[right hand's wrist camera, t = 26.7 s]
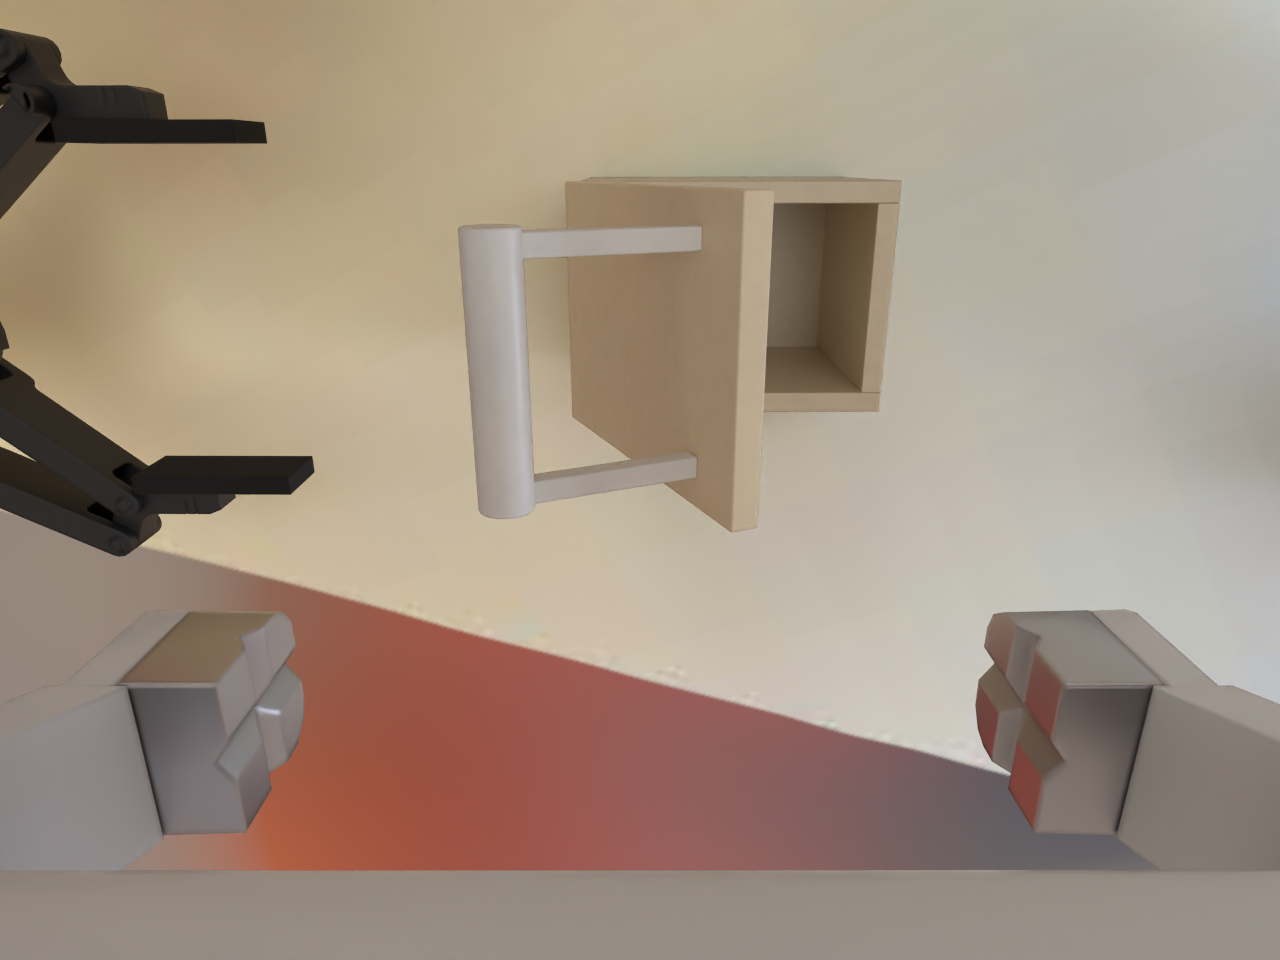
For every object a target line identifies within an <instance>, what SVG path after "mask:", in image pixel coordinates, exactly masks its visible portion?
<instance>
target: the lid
mask: <svg viewBox="0 0 1280 960" xmlns="http://www.w3.org/2000/svg"><path fill="white" fill-rule="evenodd" d="M565 189H566V221H567V229H545V230H522V227H521V226H518V225H508V224H482V225H466V226H461V227H459V228H458V236H459V250H460V263H461V277H462V291H463V304H464V318H465V332H466V345H467V359H468V373H469V386H470V400H471V414H472V427H473V441H474V454H475V468H476V482H477V495H478V509H479V511H480V513H481V514H482V515H484V516H486V517H489V518H495V519H512V518H518V517H522V516H525V515H527V514H529V513H531V512H532V511H533V510H534V508H535V504H536V503H542V502H548V501H555V500H561V499H567V498H573V497H579V496H585V495H592V494H598V493H604V492H610V491H616V490H622V489H629V488H635V487H641V486H647V485H653V484H660V483H664V484H666V485H667V486H668V487H670V488H671V489H672V490H674V491H675V492H677V493H678V494H679V495H681V496H682V497H683V498H685V499H686V500H688V501H689V502H690V503H692V504H693V505H694V506H696V507H697V508H699V509H700V510H701V511H703V512H704V513H705V514H707V515H708V516H709V517H711V518H712V519H714V520H715V521H716V522H718V523H719V524H720V525H722V526H723V527H725V528H726V529H727V530H729V531H730V532H737V531H742V530H747V529H753V528H757V527H758V510H759V489H760V469H761V449H762V429H763V409H764V388H765V368H766V348H767V328H768V308H769V287H770V267H771V247H772V227H773V207H774V190H772V189H751V188H727V187H704V186H680V185H656V184H633V183H609V182H566V183H565ZM561 257H568V286H569V319H570V351H571V384H572V416H573V417H574V418H575V419H576V420H578V421H579V422H581V423H582V424H583V425H585V426H586V427H587V428H589V429H590V430H592V431H593V432H594V433H596V434H597V435H598V436H600V437H601V438H603V439H604V440H605V441H607V442H608V443H609V444H611V445H612V446H614V447H615V448H616V449H618V450H619V451H620V452H622V453H623V454H624V455H626V456H627V457H629V458H630V459H631V460H627V461H620V462H614V463H607V464H600V465H593V466H587V467H580V468H573V469H566V470H559V471H553V472H546V473H539V474H534V464H533V443H532V422H531V402H530V381H529V360H528V339H527V318H526V298H525V277H524V259H539V258H561Z"/></svg>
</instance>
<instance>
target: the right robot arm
mask: <svg viewBox="0 0 1280 960" xmlns="http://www.w3.org/2000/svg"><path fill="white" fill-rule="evenodd" d="M295 647H296V645H295V639H294V634H293V629H292V624H291V621H290V620H289V619H288V617H287V616H286V615H285V614H284V613H283V612H249V611H195V610H161V611H148V612H144V613H143V614H142V615H141V616H140V617H138V618H137V619H136V620H135V621H134V622H133V623H132V624H131V625H129V626H128V627H127V628H126V629H125V630H124V631H123V632H122V633H120V634H119V635H118V636H117V637H116V638H115V639H114V640H113V641H111V642H110V643H109V644H108V645H107V646H106V647H105V648H104V649H102V650H101V651H100V652H99V653H98V654H97V655H96V656H95V657H93V658H92V659H91V660H90V661H89V662H88V663H87V664H86V665H84V666H83V667H82V668H81V669H80V670H79V671H78V672H77V673H75V674H74V675H73V676H72V677H71V678H70V679H69V680H68V681H66V682H65V683H64V684H63V685H62V686H45V687H43V688H40V689H38V690H35V691H33V692H30V693H28V694H25V695H23V696H20V697H18V698H15V699H13V700H10V701H8V702H5V703H3V704H0V960H1280V704H1277V703H1275V702H1272V701H1270V700H1267V699H1265V698H1262V697H1260V696H1257V695H1255V694H1252V693H1250V692H1247V691H1245V690H1242V689H1240V688H1237V687H1235V686H1218V685H1217V684H1216V683H1215V682H1214V681H1213V680H1211V679H1210V678H1209V677H1208V676H1207V675H1206V674H1205V673H1204V672H1202V671H1201V670H1200V669H1199V668H1198V667H1197V666H1196V665H1195V664H1193V663H1192V662H1191V661H1190V660H1189V659H1188V658H1187V657H1186V656H1185V655H1183V654H1182V653H1181V652H1180V651H1179V650H1178V649H1177V648H1176V647H1174V646H1173V645H1172V644H1171V643H1170V642H1169V641H1168V640H1167V639H1165V638H1164V637H1163V636H1162V635H1161V634H1160V633H1159V632H1158V631H1156V630H1155V629H1154V628H1153V627H1152V626H1151V625H1150V624H1149V623H1148V622H1146V621H1145V620H1144V619H1143V618H1142V617H1141V616H1140V615H1139V614H1137V613H1135V612H1132V611H1129V610H1125V609H1122V610H1100V611H1089V610H1083V611H1041V612H1004V613H998V614H993V616H992V618H991V621H990V623H989V625H988V627H987V633H986V638H985V644H984V647H985V649H986V650H987V652H988V653H989V655H990V657H991V658H992V660H993V661H994V665H993V666H992V667H991V668H990V669H989V670H988V671H987V672H986V673H985V674H984V675H983V676H982V677H981V678H980V679H979V682H978V690H977V698H976V715H977V725H978V731H979V734H980V737H981V740H982V743H983V746H984V748H985V750H986V751H987V753H988V755H989V757H990V758H991V760H992V762H994V763H996V764H997V765H999V766H1000V767H1002V768H1004V769H1005V770H1007V771H1008V772H1010V773H1011V776H1010V782H1009V788H1008V789H1009V791H1010V792H1011V794H1012V796H1013V797H1014V799H1015V801H1016V802H1017V804H1018V806H1019V807H1020V809H1021V811H1022V812H1023V814H1024V816H1025V817H1026V819H1027V821H1028V822H1029V824H1030V826H1031V827H1032V829H1033V831H1034V832H1035V833H1063V834H1101V835H1117V836H1116V839H1117V840H1119V841H1120V842H1121V843H1123V844H1124V845H1125V846H1127V847H1128V848H1129V849H1131V850H1132V851H1134V852H1135V853H1136V854H1138V855H1139V856H1140V857H1142V858H1143V859H1144V860H1146V861H1147V862H1148V863H1150V864H1151V865H1152V866H1154V867H1155V868H1156V869H1158V870H122V869H124V868H125V867H126V866H128V865H129V864H131V863H132V862H133V861H135V860H136V859H137V858H139V857H140V856H141V855H143V854H144V853H145V852H147V851H148V850H149V849H151V848H152V847H154V846H155V845H156V844H158V843H159V842H160V841H162V840H163V839H164V836H163V835H180V834H215V833H245V832H246V831H247V829H248V827H249V826H250V824H251V823H252V821H253V819H254V818H255V816H256V814H257V813H258V811H259V809H260V808H261V806H262V804H263V802H264V801H265V799H266V797H267V796H268V794H269V792H270V791H271V789H272V788H271V782H270V776H269V773H270V772H272V771H273V770H275V769H276V768H278V767H280V766H281V765H283V764H284V763H286V762H288V760H289V758H290V757H291V755H292V753H293V751H294V749H295V748H296V746H297V744H298V740H299V736H300V732H301V728H302V724H303V720H304V695H303V688H302V681H301V679H300V678H299V677H298V676H297V675H296V674H295V673H294V672H293V671H292V670H291V669H290V668H289V667H288V666H287V665H286V661H287V660H288V658H289V657H290V655H291V653H292V652H293V650H294V649H295Z"/></svg>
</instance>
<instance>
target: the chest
mask: <svg viewBox="0 0 1280 960" xmlns="http://www.w3.org/2000/svg"><path fill="white" fill-rule="evenodd" d="M578 182H609V183H633V184H656V185H680V186H704V187H727V188H751V189H772V190H774V207H773V227H772V247H771V267H770V287H769V308H768V328H767V348H766V368H765V388H764V409H763V412H874V411H879V407H880V396H881V393H880V392H881V386H882V376H883V366H884V356H885V346H886V335H887V325H888V315H889V305H890V295H891V285H892V274H893V264H894V254H895V244H896V234H897V223H898V213H899V202H900V192H901V181H899V180H882V179H865V178H847V177H591V178H589V179H586V180H582V181H578Z"/></svg>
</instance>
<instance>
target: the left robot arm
mask: <svg viewBox="0 0 1280 960" xmlns="http://www.w3.org/2000/svg"><path fill="white" fill-rule="evenodd" d="M61 61H62V59H61V53H60V51H59V48H58V47H57V45H56V44H55V43H54V42H53V41H51V40H49V39H48V38H45V37H40V36H35V35H30V34H25V33H20V32H15V31H10V30H5V29H0V106H1V105H3V104H4V103H5V104H4V105H3V106H2V107H1V109H0V219H1V218H2V216H3V215H4V214H5V213H6V212H7V211H8V210H9V208H10V207H11V206H12V205H13V204H14V203H15V201H16V200H17V199H18V198H19V197H20V196H21V195H22V193H23V192H24V191H25V190H26V189H27V188H28V187H29V185H30V184H31V183H32V182H33V181H34V180H35V178H36V177H37V176H38V175H39V174H40V173H41V172H42V170H43V169H44V168H45V167H46V166H47V165H48V163H49V162H50V161H51V160H52V159H53V158H54V157H55V155H56V154H57V153H58V152H59V151H60V150H61V148H62V147H63V146H64V145H65V144H66V143H97V144H201V143H267V139H266V132H265V125H264V122H253V121H243V120H232V119H215V120H168V117H167V111H166V106H165V100H164V95H163V94H161V93H159V92H157V91H154V90H152V89H149V88H142V87H135V86H128V85H113V86H110V85H109V86H76V85H75V84H73V83H72V82H71V81H70V80H69V79H68V78H67V76H66V75H65V73H64V72H63V70H62V68H61V66H60V64H61ZM8 348H9V344H8V341H7V337H6V333H5V330H4V328H3V326H2V324H1V322H0V437H1V438H2V439H4V440H5V441H7V442H8V443H10V444H11V445H13V446H14V447H16V448H17V449H19V450H20V451H22V452H23V453H25V454H26V455H28V456H29V457H31V458H32V459H34V460H35V461H34V460H31V459H29V458H27V457H24V456H22V455H19V454H17V453H15V452H12V451H10V450H7V449H5V448H2V447H0V508H1V509H3V510H6V511H8V512H11V513H13V514H15V515H18V516H20V517H23V518H25V519H28V520H30V521H32V522H35V523H37V524H40V525H42V526H44V527H47V528H49V529H52V530H54V531H57V532H59V533H61V534H64V535H66V536H69V537H71V538H74V539H76V540H78V541H81V542H83V543H86V544H88V545H90V546H93V547H95V548H98V549H100V550H103V551H105V552H107V553H110V554H112V555H115V556H125V555H127V554H129V553H130V552H131V551H133V550H134V549H135V548H137V547H138V546H139V545H141V544H142V543H143V542H145V541H146V540H147V539H149V538H150V537H151V536H153V535H154V534H155V533H157V532H158V531H159V530H160V528H161V524H162V522H161V519H160V517H159V516H158V514H187V513H188V514H211V513H214V512H216V511H219V510H221V509H222V508H224V507H225V506H226V505H227V504H228V503H230V502H231V501H232V500H233V499H235V498H236V496H235V494H284V495H291V494H292V493H293V492H294V491H295V490H296V489H297V488H298V487H299V486H300V485H301V484H302V483H303V482H304V481H306V480H307V479H308V478H309V477H310V476H311V475H312V474H313V473H314V465H313V459H312V456H165V457H163V458H162V459H160V460H158V461H157V462H155V463H153V464H152V465H150V466H148V465H146V464H145V463H143V462H142V461H140V460H139V459H137V458H136V457H134V456H133V455H132V454H130V453H129V452H127V451H126V450H124V449H123V448H121V447H120V446H118V445H117V444H116V443H114V442H113V441H111V440H110V439H108V438H107V437H105V436H104V435H102V434H101V433H100V432H98V431H97V430H95V429H94V428H92V427H91V426H89V425H88V424H86V423H85V422H83V421H82V420H81V419H79V418H78V417H76V416H75V415H73V414H72V413H70V412H69V411H67V410H66V409H65V408H63V407H62V406H60V405H59V404H57V403H56V402H54V401H53V400H51V399H50V398H49V397H47V396H46V395H44V394H43V393H41V392H40V391H38V390H37V389H36V388H35V382H34V380H33V379H32V378H31V377H30V376H29V375H27V374H26V373H24V372H23V371H21V370H20V369H18V368H17V367H15V366H14V365H13V364H11V363H10V362H8V361H7V360H5V359H4V358H2V355H3V350H4V349H8ZM36 461H37V462H36Z"/></svg>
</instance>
